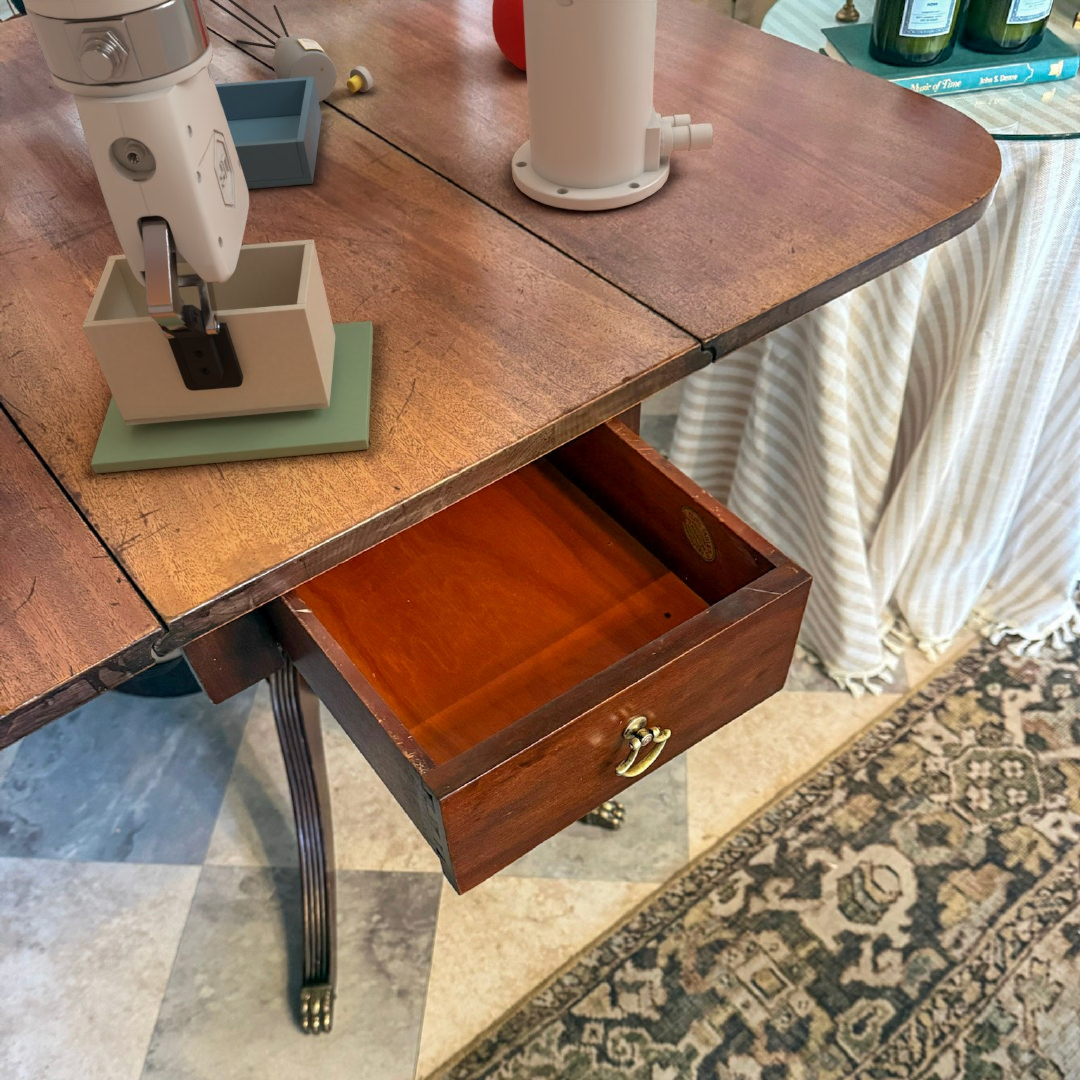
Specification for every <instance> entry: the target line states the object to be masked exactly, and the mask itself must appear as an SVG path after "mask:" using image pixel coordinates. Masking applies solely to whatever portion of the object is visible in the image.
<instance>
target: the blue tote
mask: <svg viewBox="0 0 1080 1080" xmlns="http://www.w3.org/2000/svg"><path fill="white" fill-rule="evenodd" d="M215 86H216V89H217V92H218V95H219V98H220V101H221V104H222V107H223V110H224V114H225V117H226V120H227V123H228V126H229V129H230V133H231V136H232V139H233V142H234V145H235V148H236V152H237V155H238V158H239V161H240V164H241V168H242V171H243V174H244V177H245V181H246V184H247V188H248V190H251V189H252V190H253V189H264V188H278V187H288V186H289V187H290V186H303V185H313V183H314V177H315V172H316V171H315V170H316V162H317V154H318V148H319V147H318V146H319V140H320V133H321V125H322V119H323V118H322V117H323V116H322V111H321V107H320V102H319V101H318V96H317V91H316V86H315V81H314V77H301V78H288V79H279V78H277V79H275V78H274V79H265V80H263V79H262V80H250V81H237V82H226V83H215Z"/></svg>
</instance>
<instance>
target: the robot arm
mask: <svg viewBox="0 0 1080 1080" xmlns="http://www.w3.org/2000/svg"><path fill="white" fill-rule="evenodd" d="M22 2H23V5H24V9H25V12H26V15H27V17H28V21H29V22H30V25H31V28H32V29H33V32H34V33H33V34H34V35H35V38H36V41H37V43H38V46H39V48H40V51H41V54H42V56H43V58H44V61H45V63H46V66H47V69H48V71H49V73H50V76H51V79H52V82H53V83H54V85H55V86H56V87H57V88H59V89H60V90H62V91H64V92H66V93H70V94H72V95H73V98H74V103H75V107H76V109H77V114H78V117H79V121H80V124H81V127H82V131H83V135H84V138H85V142H86V144H87V148H88V152H89V155H90V158H91V161H92V165H93V168H94V172H95V175H96V178H97V181H98V184H99V187H100V190H101V193H102V195H103V199H104V203H105V206H106V208H107V212H108V214H109V217H110V220H111V222H112V225H113V228H114V231H115V233H116V236H117V239H118V242H119V245H120V247H121V249H122V252H123V255H125V257H126V259H127V261H128V264H129V266H130V268H131V270H132V272H133V274H134V276H135V278H136V279H137V281H138V282H139V283H140V284H142V285H143V286H145V287H146V294H147V307H148V311H149V314H150V316H151V317H152V318H153V319H154V320H155V321H156V322H157V323H158V325H160V327H161V329H162V331H163V334H164V336H165V338H166V339H168V341H169V344H170V347H171V349H172V352H173V355H174V357H175V360H176V363H177V365H178V368H179V371H180V373H181V376H182V379H183V381H184V384H185V386H186V388H187V389H189V390H191V391H198V390H210V389H222V388H234V387H239V386H241V385H242V382H243V374H242V371H241V368H240V364H239V361H238V358H237V355H236V352H235V349H234V345H233V342H232V339H231V336H230V333H229V330H228V326H227V323H219V318H218V312H217V306H216V301H215V295H214V289H213V283H212V282H214V281H218V282H219V283H224V282H226V281H227V280H229V278H230V277H231V276H232V274H233V273H234V271H235V268H236V265H237V261H238V258H239V253H240V249H241V245H243V244H242V243H243V240H244V236H245V235H244V234H245V231H246V226H247V220H248V216H249V211H250V210H249V209H250V193H249V189H248V188H247V184H246V181H245V177H244V174H243V171H242V168H241V164H240V161H239V158H238V155H237V152H236V148H235V145H234V142H233V139H232V136H231V133H230V129H229V126H228V123H227V120H226V117H225V114H224V110H223V107H222V104H221V101H220V98H219V95H218V92H217V89H216V86H215V84H216V83H215V81H214V78H213V75H212V73H211V69H210V67H209V64H210V63H211V62H212V60H213V57H214V49H213V45H212V41H211V39H210V38H211V37H210V35H209V31H208V27H207V23H206V19H205V15H204V12H203V7H202V4H201V1H200V0H22ZM523 6H524V27H525V48H526V69H527V71H526V86H527V89H526V90H527V108H528V128H529V139H528V140H526V141H525V142H523V143H522V144H521V145H520V146H519V147H518V148H517V149H516V150H515V153H514V154H513V156H512V159H511V174H512V175H511V176H512V180H513V182H514V183H515V186H516V187H517V188H518V189H519V190H520V191H521V192H522V193H523V194H525V195H526V196H527V197H529V198H531V199H532V200H535V201H537V202H538V203H541V204H543V205H547V206H550V207H553V208H557V209H558V208H559V209H565V210H573V211H585V212H586V211H604V210H611V209H618V208H622V207H626V206H630V205H633V204H635V203H638V202H641V201H643V200H645V199H647V198H649V197H650V196H652V195H654V194H655V193H656V192H657V191H659V190H660V189H661V188H662V187H663V186H664V184H666V182H667V180H668V177H669V175H670V170H671V169H670V166H671V165H670V164H671V158H670V157H671V156H672V155H673V152H676V151H677V152H679V151H688V152H693V151H704V150H705V151H706V150H711V149H712V148H713V142H714V130H713V125H712V123H711V122H705V123H692V121H691V120H692V119H691V118H692V117H691V115H690V113H679V114H673V115H667V116H666V115H665V116H662V115H661V113H660V112H657V111H656V109H655V106H654V87H655V86H654V85H655V64H656V63H655V61H656V40H657V19H658V18H657V17H658V0H523ZM177 263H188V264H189V265H190V266H191V267H192V268H193V270H194V271H195V272H196V273H197V274H184V275H178V273H177ZM193 286H197V288H198V294H199V299H200V305H201V310H200V309H198V308H197V307H195V306H194V305H185V304H184V300H183V299H182V298H181V296H180V293H179V288H180V287H193Z"/></svg>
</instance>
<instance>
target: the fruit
mask: <svg viewBox="0 0 1080 1080" xmlns="http://www.w3.org/2000/svg"><path fill="white" fill-rule="evenodd" d="M491 9H492V10H491V15H492V16H491V23H492V25H491V26H492V31H493V35H494V40H495V42H496V44H497V46H498V48H499V50H500V51H501V53H502V55H503V56H504V57H505V58H506V59H507V60H508V61H509V62H510V63H511V64H513V66H515V67H516V68H518V69H519V70H520V71H524V72H527V69H526V48H525V27H524V6H523V0H492V7H491Z"/></svg>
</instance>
